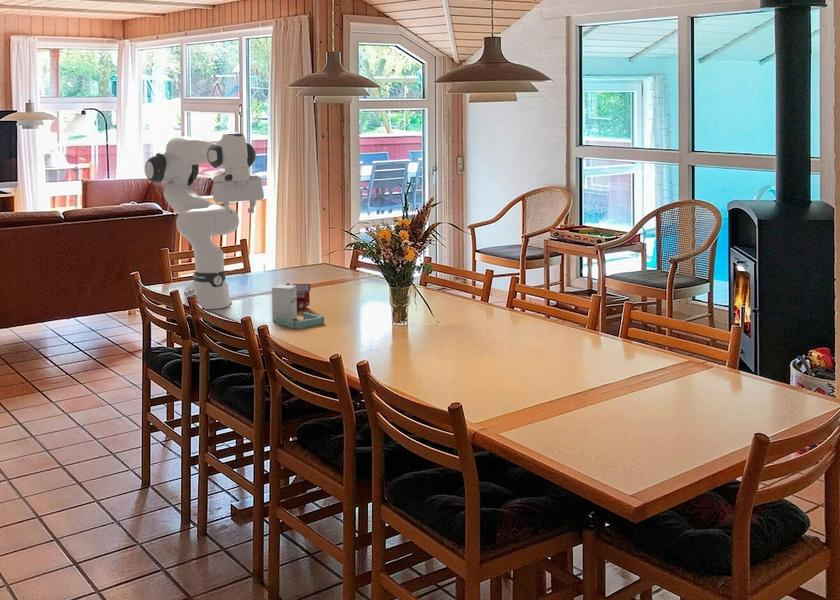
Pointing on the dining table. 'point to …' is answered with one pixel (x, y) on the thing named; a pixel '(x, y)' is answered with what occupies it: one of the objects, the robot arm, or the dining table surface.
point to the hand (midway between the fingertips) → (240, 213)
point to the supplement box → (284, 302)
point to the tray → (302, 321)
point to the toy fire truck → (302, 295)
